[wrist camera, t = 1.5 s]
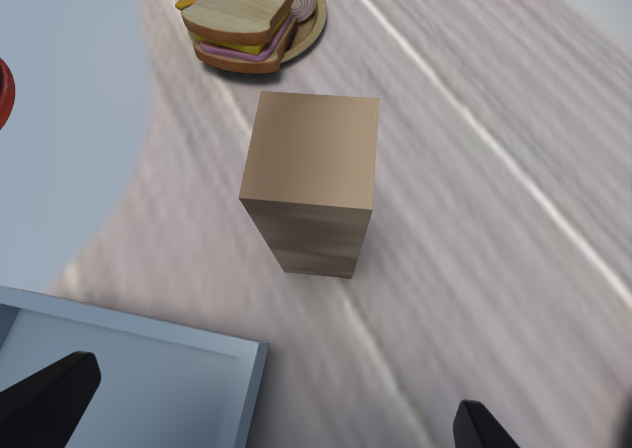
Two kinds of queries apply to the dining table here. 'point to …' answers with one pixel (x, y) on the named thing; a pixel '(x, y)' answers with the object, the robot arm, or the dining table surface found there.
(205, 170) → the dining table surface
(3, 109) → the plant pot
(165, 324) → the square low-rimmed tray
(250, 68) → the toy sandwich meal
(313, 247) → the block
